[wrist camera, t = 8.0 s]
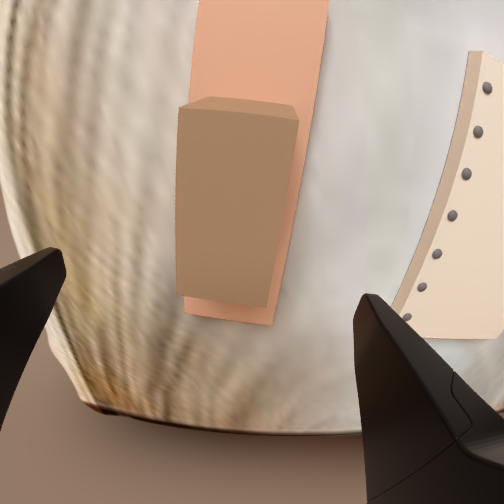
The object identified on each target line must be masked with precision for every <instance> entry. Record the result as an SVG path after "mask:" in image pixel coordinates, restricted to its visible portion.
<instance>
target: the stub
mask: <svg viewBox="0 0 504 504" xmlns="http://www.w3.org/2000/svg"><path fill="white" fill-rule="evenodd" d="M328 7H329V0H199V6H198V14H197V22H196V30H195V39H194V48H193V58H192V68H191V79H190V91H189V104H187V105H184V106H182V107H179V114H178V132H177V156H176V202H175V236H176V282H177V295H181V296H184V313H187V314H193V315H200V316H206V317H212V318H219V319H225V320H232V321H239V322H246V323H254V324H261V325H269V326H272V322H273V318H274V313H275V309H276V304H277V299H278V295H279V290H280V285H281V281H282V276H283V271H284V266H285V261H286V256H287V251H288V246H289V241H290V236H291V231H292V226H293V221H294V216H295V211H296V206H297V200H298V195H299V190H300V184H301V179H302V173H303V168H304V162H305V156H306V151H307V145H308V139H309V133H310V128H311V122H312V116H313V109H314V103H315V97H316V91H317V84H318V78H319V71H320V65H321V58H322V51H323V44H324V37H325V30H326V23H327V15H328Z"/></svg>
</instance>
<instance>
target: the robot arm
mask: <svg viewBox="0 0 504 504" xmlns="http://www.w3.org/2000/svg"><path fill="white" fill-rule="evenodd" d="M65 278H66V268H65V264H64V259H63V255H62V252H61V250H60V249H57V248H52V247H49V248H46V249H44V250H41V251H39V252H37V253H34V254H32V255H30V256H27V257H25V258H23V259H21V260H18V261H16V262H14V263H12V264H10V265H8V266H5V267H3V268H1V269H0V431H1V428H2V424H3V422H4V419H5V416H6V413H7V410H8V408H9V405H10V402H11V400H12V397H13V395H14V392H15V390H16V387H17V385H18V382H19V380H20V378H21V375H22V373H23V371H24V368H25V366H26V364H27V362H28V359H29V357H30V355H31V353H32V351H33V349H34V347H35V344H36V342H37V340H38V338H39V336H40V334H41V332H42V330H43V328H44V326H45V324H46V322H47V320H48V318H49V316H50V313H51V311H52V309H53V306H54V304H55V301H56V299H57V297H58V294H59V292H60V290H61V287H62V285H63V283H64V281H65ZM353 333H354V364H355V376H356V383H357V391H358V399H359V408H360V416H361V426H362V436H363V447H364V460H365V474H366V489H367V490H366V491H367V501H368V502H367V504H504V419H503V418H502V417H501V416H500V415H499V414H498V413H497V412H496V411H495V410H494V409H493V408H492V407H490V406H489V405H488V404H487V403H486V402H485V401H484V400H483V399H482V398H481V397H480V396H479V395H478V394H477V393H476V392H474V390H473V389H472V388H471V387H470V386H469V385H468V384H467V383H466V382H465V381H464V380H463V379H462V378H461V377H460V376H459V375H458V374H457V373H456V372H455V371H454V372H453V369H452V368H451V367H450V366H449V365H448V364H447V363H446V362H445V361H444V360H443V359H442V357H441V356H440V355H439V354H438V353H437V352H436V351H435V350H434V349H433V348H432V347H431V346H430V345H429V344H428V343H427V342H426V341H425V340H424V339H423V338H422V337H421V336H420V335H419V334H418V333H417V332H416V331H415V330H414V329H413V328H412V327H411V326H410V325H409V324H408V323H407V322H405V321H404V320H403V319H402V318H401V317H400V316H399V315H398V314H397V313H396V312H395V311H394V310H393V309H392V308H391V307H390V306H389V305H388V304H387V303H386V302H385V301H384V300H383V299H382V298H381V297H379V296H378V295H376V294H368V293H365V294H363V296H362V297H361V300H360V302H359V304H358V307H357V309H356V312H355V314H354V318H353Z"/></svg>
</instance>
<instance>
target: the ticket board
mask: <svg viewBox="0 0 504 504" xmlns="http://www.w3.org/2000/svg"><path fill="white" fill-rule="evenodd" d="M391 308H392V309H393V310H394V311H395V312H396V313H397V314H398V315H399V316H400V317H401V318H402V319H403V320H404V321H405V322H407V323H408V324H409V325H410V326H411V327H412V328H413V329H414V330H415V331H416V332H417V333H418V334H419V335H420V336H421V337H422V338H449V339H497V338H498V336H499V335H500V334H501V332H502V331H503V329H504V63H502V62H501V61H499V60H497V59H496V58H494V57H492V56H490V55H488V54H487V53H485V52H483V51H469V54H468V62H467V68H466V75H465V81H464V86H463V92H462V97H461V102H460V107H459V112H458V116H457V121H456V125H455V129H454V134H453V138H452V142H451V145H450V149H449V153H448V157H447V160H446V164H445V167H444V171H443V174H442V177H441V181H440V184H439V187H438V190H437V193H436V196H435V199H434V202H433V205H432V208H431V211H430V214H429V217H428V220H427V222H426V225H425V228H424V231H423V233H422V236H421V239H420V241H419V244H418V246H417V249H416V251H415V254H414V256H413V259H412V261H411V264H410V266H409V268H408V271H407V273H406V275H405V278H404V280H403V282H402V285H401V287H400V289H399V291H398V293H397V296H396V298H395V300H394V302H393V304H392V306H391Z"/></svg>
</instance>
